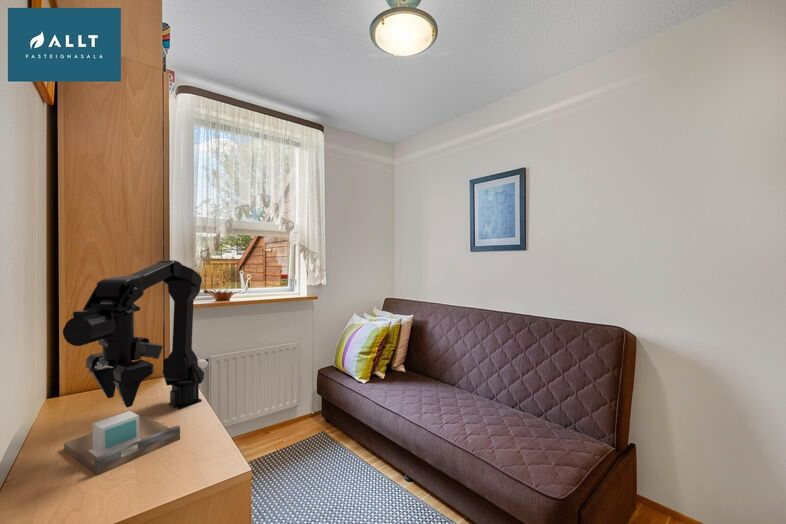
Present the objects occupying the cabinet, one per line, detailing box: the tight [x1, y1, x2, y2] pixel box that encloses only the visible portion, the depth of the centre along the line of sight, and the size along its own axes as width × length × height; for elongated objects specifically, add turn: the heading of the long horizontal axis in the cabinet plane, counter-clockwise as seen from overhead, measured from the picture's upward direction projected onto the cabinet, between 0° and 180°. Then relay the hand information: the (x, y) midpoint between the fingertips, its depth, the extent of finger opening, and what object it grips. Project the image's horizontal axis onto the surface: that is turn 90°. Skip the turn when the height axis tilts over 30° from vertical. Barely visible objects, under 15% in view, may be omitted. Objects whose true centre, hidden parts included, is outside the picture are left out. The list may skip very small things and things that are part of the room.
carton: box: [91, 410, 140, 456], centre depth 77 cm, size 5×7×6 cm
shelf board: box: [63, 414, 181, 476], centre depth 81 cm, size 16×18×3 cm
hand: (119, 402), depth 79 cm, fingers open, 9 cm apart
